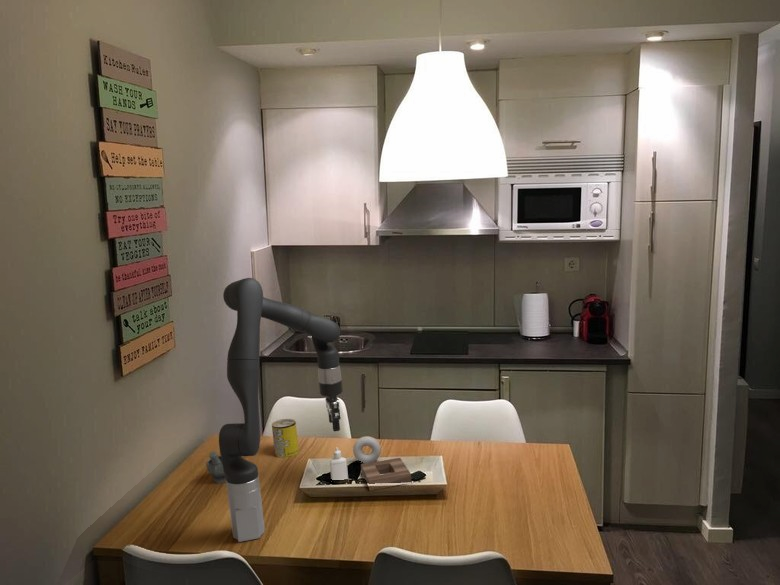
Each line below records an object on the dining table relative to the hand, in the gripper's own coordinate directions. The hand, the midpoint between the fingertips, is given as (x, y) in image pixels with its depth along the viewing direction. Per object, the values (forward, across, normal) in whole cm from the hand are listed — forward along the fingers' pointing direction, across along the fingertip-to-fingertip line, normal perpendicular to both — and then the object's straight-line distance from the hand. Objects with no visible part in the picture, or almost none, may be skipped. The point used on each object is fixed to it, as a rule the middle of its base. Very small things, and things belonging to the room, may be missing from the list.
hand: (334, 426), depth 224 cm
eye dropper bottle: (+20, 0, 0) cm, 20 cm away
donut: (+20, -11, +12) cm, 26 cm away
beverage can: (+20, -33, -15) cm, 41 cm away
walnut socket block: (+19, +4, +15) cm, 25 cm away
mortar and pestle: (+20, -18, -39) cm, 47 cm away
